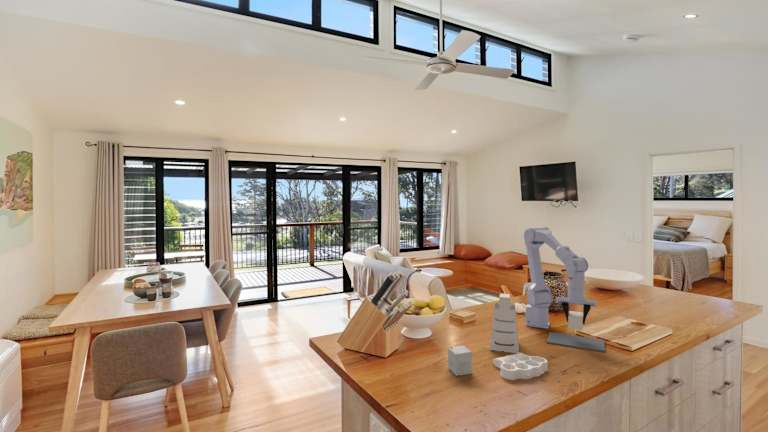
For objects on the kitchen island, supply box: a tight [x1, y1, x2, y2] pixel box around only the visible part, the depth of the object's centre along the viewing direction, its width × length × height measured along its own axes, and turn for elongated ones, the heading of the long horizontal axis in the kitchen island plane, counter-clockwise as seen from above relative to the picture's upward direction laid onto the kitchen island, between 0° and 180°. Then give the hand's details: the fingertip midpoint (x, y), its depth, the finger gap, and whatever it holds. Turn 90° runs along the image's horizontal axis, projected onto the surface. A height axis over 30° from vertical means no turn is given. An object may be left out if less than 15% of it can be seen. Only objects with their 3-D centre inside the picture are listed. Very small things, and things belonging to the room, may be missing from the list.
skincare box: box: [447, 345, 473, 377], centre depth 128 cm, size 6×6×7 cm
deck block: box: [567, 310, 584, 331], centre depth 151 cm, size 9×5×4 cm, turn 151°
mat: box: [546, 331, 606, 353], centre depth 152 cm, size 20×12×1 cm, turn 61°
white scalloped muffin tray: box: [492, 352, 549, 381], centre depth 128 cm, size 3×18×15 cm
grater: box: [489, 293, 520, 354], centre depth 148 cm, size 10×10×20 cm
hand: (575, 322), depth 151 cm, fingers closed on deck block, 5 cm apart
